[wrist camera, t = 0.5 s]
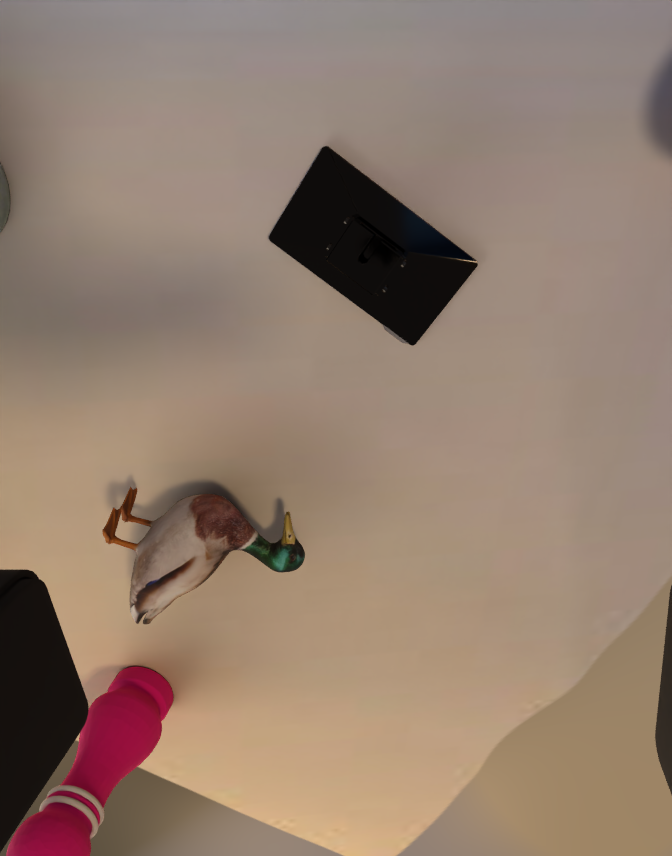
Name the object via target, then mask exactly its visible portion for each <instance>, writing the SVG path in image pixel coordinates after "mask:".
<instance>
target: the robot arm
mask: <svg viewBox="0 0 672 856" xmlns="http://www.w3.org/2000/svg"><path fill="white" fill-rule="evenodd" d="M669 598H670V599H669V608H668V617H667V627H666V636H665V646H664V655H663V665H662V674H661V684H660V693H659V703H658V713H657V722H656V734H655V738H656V747H657V753H658V757H659V761H660V764H661V767H662V770H663V772H664V775H665V778H666V781H667V783H668V786H669V789H670V791H671V794H672V586H671V590H670V597H669ZM87 716H88V702H87V699H86V696H85V693H84V690H83V688H82V685H81V682H80V679H79V676H78V674H77V671H76V668H75V665H74V662H73V660H72V657H71V654H70V651H69V648H68V646H67V643H66V640H65V637H64V635H63V632H62V629H61V626H60V623H59V621H58V618H57V615H56V612H55V609H54V607H53V604H52V601H51V598H50V595H49V593H48V590H47V587H46V585H45V583H44V582H43V581H42V580H39V578H38V577H37V575H36V574H35V573H34V572H33V571H30V570H0V852H1V851H2V849H3V848H4V846H5V845H6V843H7V841H8V840H9V838H10V837H11V835H12V834H13V832H14V831H15V829H16V828H17V826H18V825H19V823H20V822H21V820H22V819H23V817H24V816H25V814H26V813H27V811H28V810H29V808H30V807H31V805H32V804H33V802H34V801H35V799H36V798H37V796H38V795H39V793H40V792H41V790H42V789H43V787H44V786H45V784H46V783H47V781H48V780H49V778H50V777H51V775H52V774H53V772H54V771H55V769H56V768H57V766H58V765H59V763H60V762H61V760H62V759H63V757H64V756H65V754H66V753H67V751H68V750H69V748H70V747H71V745H72V744H73V742H74V741H75V739H76V738H77V736H78V735H79V733H80V732H81V730H82V729H83V727H84V725H85V723H86V720H87Z"/></svg>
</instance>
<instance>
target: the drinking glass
mask: <svg viewBox="0 0 672 856" xmlns="http://www.w3.org/2000/svg"><path fill="white" fill-rule="evenodd" d="M9 210H10V193H9V186H8V182H7V178H6V175H5V173H4V170H3V168H2V165H1V163H0V232H1V231H2V229H3V228H4V226H5V224H6V222H7V219H8V215H9Z"/></svg>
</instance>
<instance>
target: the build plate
mask: <svg viewBox="0 0 672 856" xmlns="http://www.w3.org/2000/svg"><path fill="white" fill-rule="evenodd" d="M269 239H270V241H271V242H273V243H274V244H275V245H277V246H278V247H279V248H281V249H282V250H283V251H285V252H286V253H287V254H289V255H290V256H291V257H293V258H294V259H295V260H297V261H298V262H300V263H301V264H302V265H304V266H305V267H306V268H308V269H309V270H310V271H312V272H313V273H314V274H316V275H317V276H318V277H320V278H321V279H322V280H324V281H325V282H326V283H328V284H329V285H330V286H332V287H333V288H335V289H336V290H337V291H339V292H340V293H341V294H343V295H344V296H345V297H347V298H348V299H349V300H351V301H352V302H353V303H355V304H356V305H357V306H359V307H360V308H361V309H363V310H364V311H366V312H367V313H368V314H370V315H371V316H372V317H374V318H375V319H376V320H378V321H379V322H380V323H382V324H383V325H384V328H385V330H386V331H388V332H389V333H390V334H392V335H393V336H394V337H396V338H397V339H398V340H400V341H401V342H402V343H409V344H410V345H415V344H416V343H417V341H418V340H419V339H420V338H421V336H422V335H423V334H424V333H425V331H426V330H427V329H428V328H429V326H430V325H431V324H432V322H433V321H434V320H435V319H436V317H437V316H438V315H439V314H440V312H441V311H442V310H443V309H444V307H445V306H446V305H447V304H448V302H449V301H450V300H451V299H452V297H453V296H454V295H455V293H456V292H457V291H458V290H459V288H460V287H461V286H462V285H463V283H464V282H465V281H466V280H467V278H468V277H469V276H470V275H471V273H472V272H473V271H474V270H475V268H476V267H477V265H478V263H477V261H476V260H475V259H474V258H472V257H471V256H470V255H468V254H467V253H466V252H465V251H463V250H462V249H461V248H459V247H458V246H457V245H455V244H454V243H453V242H452V241H450V240H449V239H448V238H446V237H445V236H444V235H442V234H441V233H440V232H439V231H437V230H436V229H435V228H433V227H432V226H431V225H429V224H428V223H427V222H426V221H424V220H423V219H422V218H420V217H419V216H418V215H416V214H415V213H414V212H413V211H411V210H410V209H409V208H407V207H406V206H405V205H403V204H402V203H401V202H400V201H398V200H397V199H396V198H394V197H393V196H392V195H390V194H389V193H388V192H387V191H385V190H384V189H383V188H381V187H380V186H379V185H377V184H376V183H375V182H374V181H372V180H371V179H370V178H368V177H367V176H366V175H364V174H363V173H362V172H361V171H359V170H358V169H357V168H355V167H354V166H353V165H351V164H350V163H349V162H348V161H346V160H345V159H344V158H342V157H341V156H340V155H338V154H337V153H336V152H335V151H333V150H332V149H331V148H329V147H327V146H325V147H323V148H322V150H321V152H320V153H319V155H318V156H317V158H316V160H315V161H314V163H313V165H312V166H311V168H310V170H309V171H308V173H307V175H306V176H305V178H304V180H303V181H302V183H301V185H300V186H299V188H298V189H297V191H296V193H295V194H294V196H293V198H292V199H291V201H290V203H289V204H288V206H287V208H286V209H285V211H284V213H283V214H282V216H281V218H280V219H279V221H278V223H277V224H276V226H275V227H274V229H273V231H272V232H271V234H270V236H269Z"/></svg>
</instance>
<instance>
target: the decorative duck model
mask: <svg viewBox="0 0 672 856" xmlns="http://www.w3.org/2000/svg"><path fill="white" fill-rule="evenodd" d="M136 494H137V488H136V489H134V490H133V489H132V488H131V487H130V489H129V491H128V494H127V496H126V498H125V500H124V502H123V504H122V506H121V507H120V509H118V510H116V509H114V508H113V510H112V512H111V515H110V517H109V520H108V522H107V524H106V526H105V527H104V529H103V536H104V537H105V540H106V543H108V544H111V543H115V544H118V545H121V546H124V547H127V548H130V549H133V550H135V551H136V553H137V556H136V559H135V563H134V568H133V573H132V579H131V588H130V611H131V614H132V617H133V619H134V621H135V622H136V623H137V624H138V623H139V621H140V620H141V618H142V617H143V615H144V614H145V613H147V614H146V616H145V618H144V620H143V624H149V623H150V622H151V621H152V620H153V618H154V617H155V616H157V615H158V614H159V613H160V612H162V611H163V610H164V609H165V608H167V607H168V606H169V605H170V604H171V603H172V602H173V601H174V600H175V599H176V598H178V597H180V596H182V595H184V594H186V593H188V592H190V591H191V590H193V589H195V588H197V587H198V586H199V585H201V584H202V583H203V582H204V581H205V580H207V579H208V578H209V577H210V576H211V575H212V574H213V573H214V571H215V570H216V569H217V568H218V566H219V565H220V564H221V563H222V561H223V560H224V559H225V557H226V556H227V555H228V554H229V552H231V551H233V550H243V551H245V552H247V553H249V554H251V555H252V556H254V557H255V558H257V559H258V560H259V561H261V562H262V563H264V564H265V565H266V566H268V567H269V568H270V569H272V570H274V571H276V572H290V571H294V570H296V569H298V568H299V567H300V566H301V565H302V563H303V561H304V558H305V552H304V549H303V547H302V545H301V544H300V543H299V541H298V540H297V539H296V537H295V535H294V533H293V529H292V523H291V517H290V512H286V514H285V519H284V530H283V536H282V538H281V539H280V540H279V541H278V542H276V543H270V542H268V541H266V540H265V539H264V538H263V537H262V536H260V535H259V534H258V533H257V532H256V531H255V529H254V528H253V527H252V526H251V525H250V524H249V523H248V521H247V520H246V519H245V518H244V516H243V515H242V514H241V513H240V512H239V511H238V509H237V508H236V507H235V506H234V505H233V504H232V503H230V502H229V501H228V500H227V499H225V498H224V497H222V496H219V495H214V494H201V495H194V496H189V497H186V498H184V499H181V500H180V501H178V502H177V503H176V504H175V505H174V506H173V507H172V508H171V509H170V510H169V511H168V512H167V513H165V514H164V515H163V516H161V517H160V518H159V519H157V520H155V521H149V520H145V519H141V518H137V517H134V516H132V515H131V514H130V513H131V510H132V507H133V504H134V501H135V498H136ZM120 514H122V520H123V521H125V522H128V521H130V522H136V523H140V524H143V525H146V526H149V527H151V528H150V530H149V531H148V533H147V534H146V536H145V537H144V538H143V539H142V540H141V541H140V542H139V543H138V544H134V543H131V542H127V541H124V540H121V539H119V538H117V537H116V536H115V531H116V528H117V525H118V521H119V518H120Z"/></svg>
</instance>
